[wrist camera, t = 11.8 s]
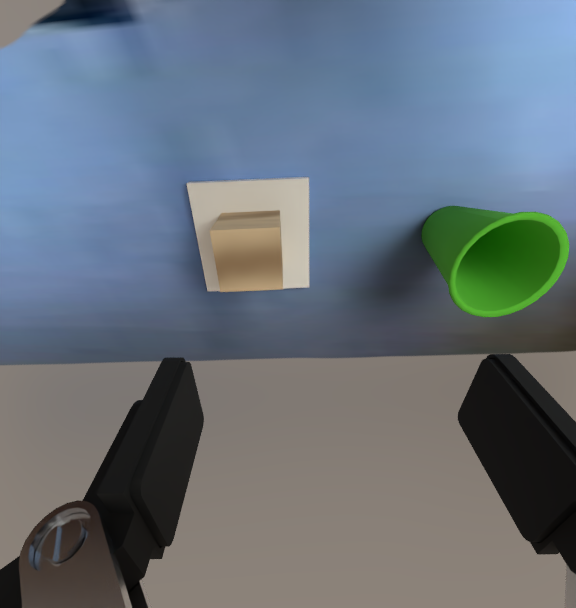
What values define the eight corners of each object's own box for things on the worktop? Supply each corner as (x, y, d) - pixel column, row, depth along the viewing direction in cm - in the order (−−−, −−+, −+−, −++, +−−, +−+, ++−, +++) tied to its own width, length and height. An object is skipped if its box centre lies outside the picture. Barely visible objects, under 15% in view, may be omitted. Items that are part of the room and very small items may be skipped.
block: (221, 212, 31) (209, 230, 26) (279, 210, 31) (279, 227, 26) (229, 266, 34) (220, 292, 29) (282, 264, 34) (282, 289, 29)
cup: (410, 277, 36) (456, 331, 27) (395, 206, 32) (442, 240, 22) (488, 250, 35) (566, 297, 25) (483, 171, 30) (575, 192, 21)
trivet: (189, 181, 30) (186, 183, 29) (308, 176, 30) (308, 178, 29) (209, 287, 36) (207, 291, 36) (308, 283, 36) (309, 287, 36)
